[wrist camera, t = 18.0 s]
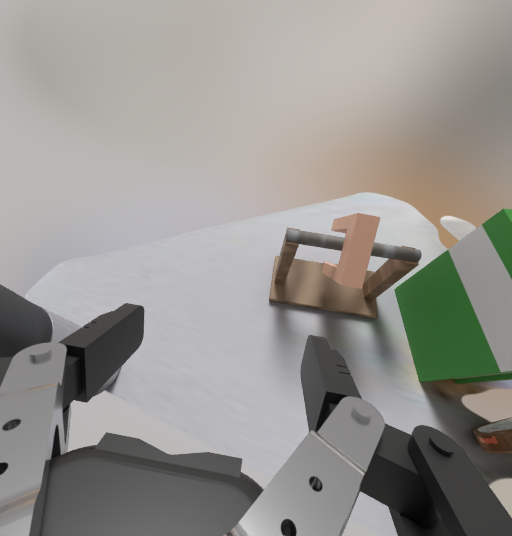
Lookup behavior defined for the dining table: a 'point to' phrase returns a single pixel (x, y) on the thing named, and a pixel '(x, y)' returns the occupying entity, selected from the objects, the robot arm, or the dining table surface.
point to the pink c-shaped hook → (353, 249)
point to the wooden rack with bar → (327, 290)
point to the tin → (495, 436)
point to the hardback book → (463, 308)
